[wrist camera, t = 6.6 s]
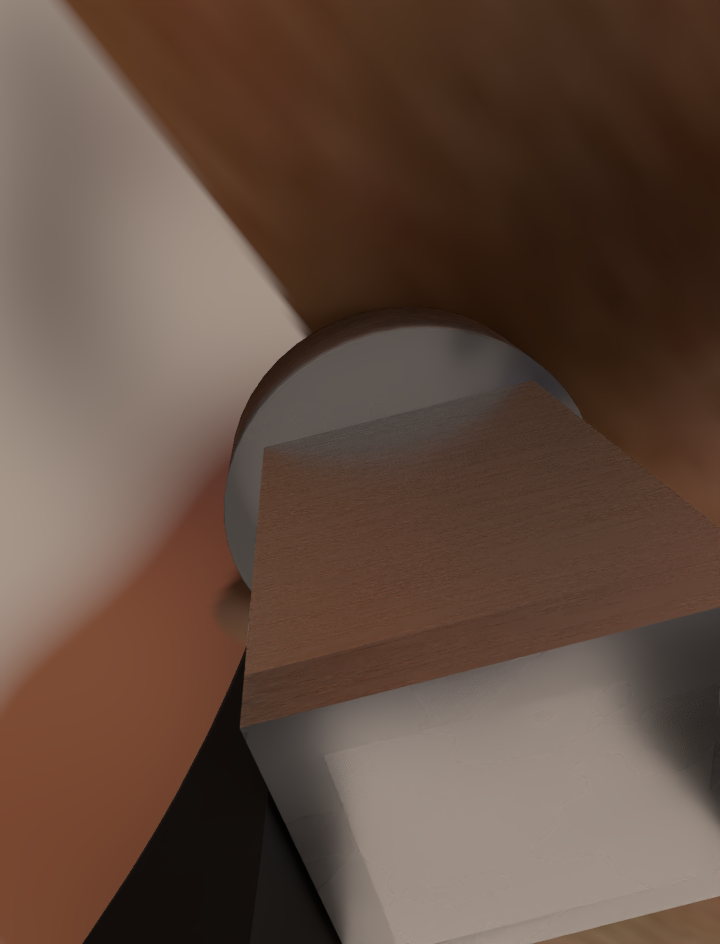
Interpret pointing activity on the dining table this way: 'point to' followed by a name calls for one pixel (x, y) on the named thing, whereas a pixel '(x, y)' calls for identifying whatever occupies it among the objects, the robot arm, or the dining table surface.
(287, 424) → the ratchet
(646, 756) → the white boxy piece
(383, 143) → the dining table surface
